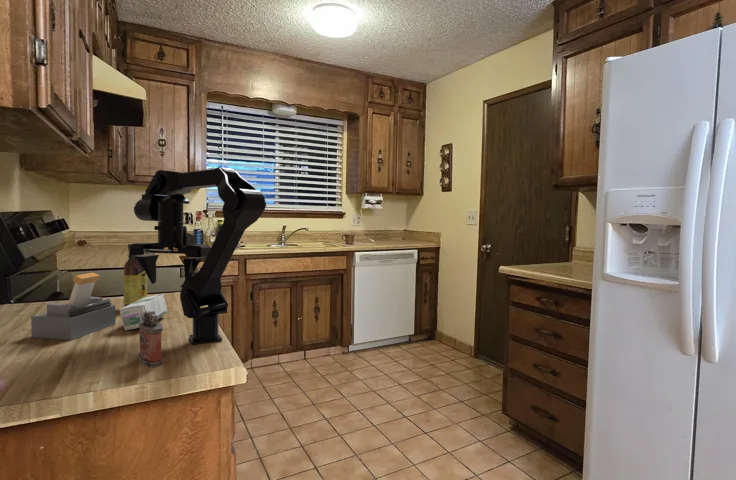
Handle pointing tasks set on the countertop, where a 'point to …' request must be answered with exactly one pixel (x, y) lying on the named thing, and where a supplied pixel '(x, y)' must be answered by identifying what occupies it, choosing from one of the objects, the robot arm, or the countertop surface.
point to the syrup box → (142, 310)
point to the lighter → (150, 340)
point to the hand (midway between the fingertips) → (170, 284)
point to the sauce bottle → (134, 281)
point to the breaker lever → (83, 288)
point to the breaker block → (73, 319)
